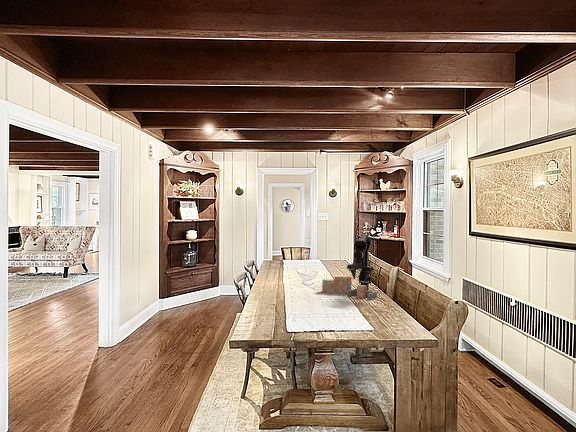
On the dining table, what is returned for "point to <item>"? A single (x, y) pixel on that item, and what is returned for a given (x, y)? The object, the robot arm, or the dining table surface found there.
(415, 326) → the dining table surface
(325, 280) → the stack of blocks
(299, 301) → the dining table surface
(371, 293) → the open-fronted box
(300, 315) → the dining table surface
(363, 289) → the terracotta block
